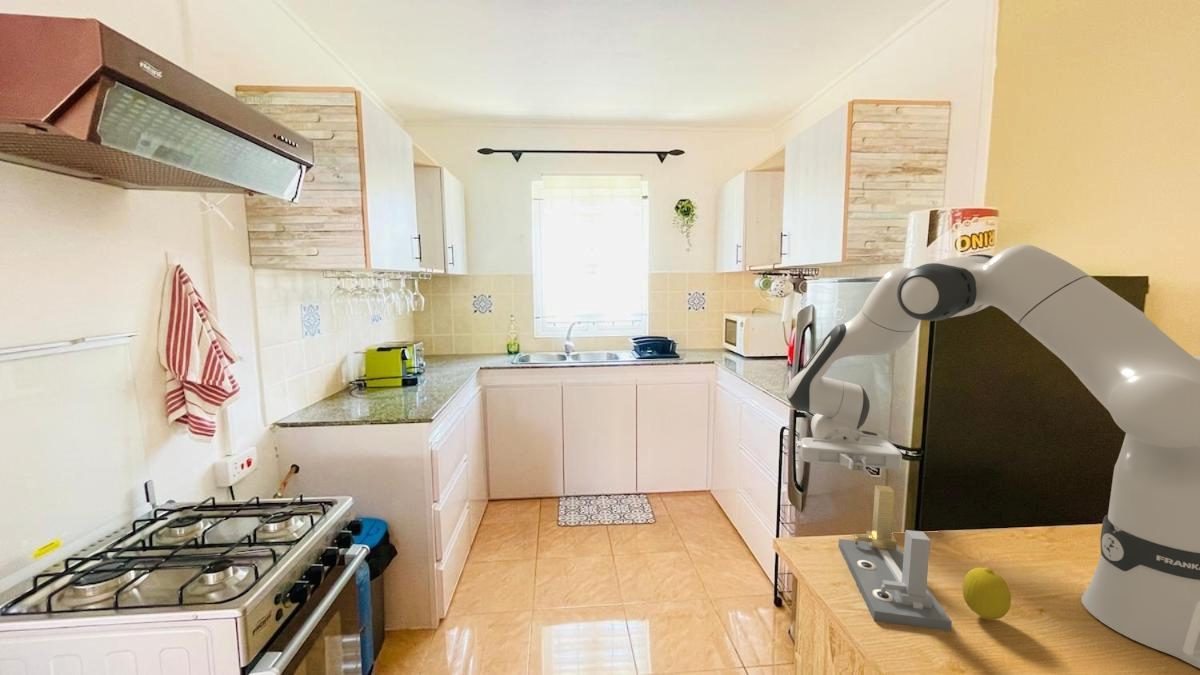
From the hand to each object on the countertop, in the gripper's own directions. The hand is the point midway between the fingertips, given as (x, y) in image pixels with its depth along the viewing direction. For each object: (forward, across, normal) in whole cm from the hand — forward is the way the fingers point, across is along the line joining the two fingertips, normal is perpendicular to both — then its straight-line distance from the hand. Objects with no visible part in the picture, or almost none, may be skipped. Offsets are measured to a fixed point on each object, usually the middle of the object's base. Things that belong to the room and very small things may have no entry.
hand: (858, 466), depth 98 cm
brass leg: (+14, -1, +9) cm, 17 cm away
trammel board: (+22, -1, +11) cm, 25 cm away
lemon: (+28, +10, +11) cm, 32 cm away
